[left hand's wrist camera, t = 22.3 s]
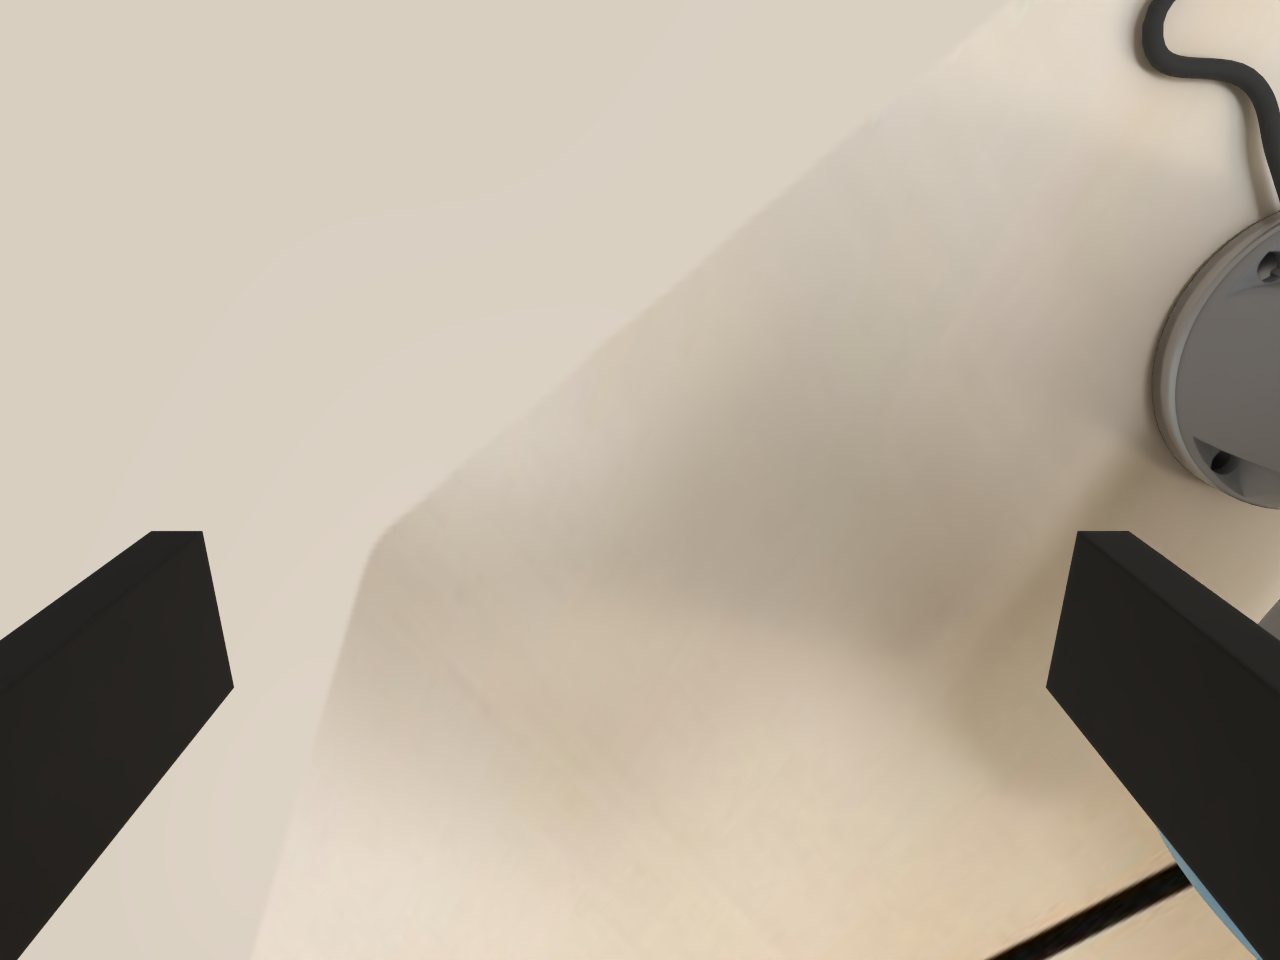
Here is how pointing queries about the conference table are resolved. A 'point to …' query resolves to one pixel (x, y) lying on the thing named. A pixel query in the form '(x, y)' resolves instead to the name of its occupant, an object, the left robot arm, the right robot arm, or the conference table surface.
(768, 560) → the conference table surface
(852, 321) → the conference table surface
